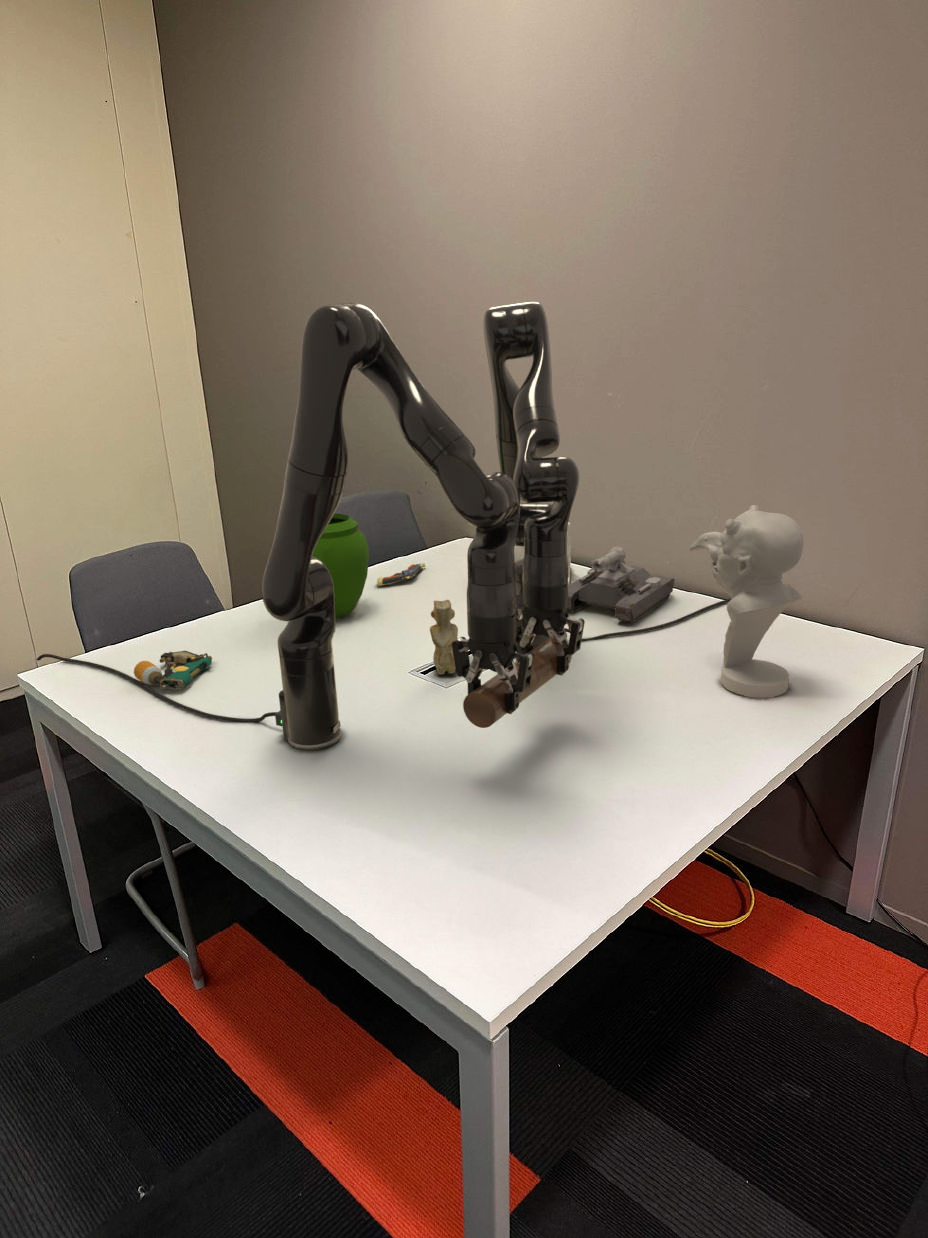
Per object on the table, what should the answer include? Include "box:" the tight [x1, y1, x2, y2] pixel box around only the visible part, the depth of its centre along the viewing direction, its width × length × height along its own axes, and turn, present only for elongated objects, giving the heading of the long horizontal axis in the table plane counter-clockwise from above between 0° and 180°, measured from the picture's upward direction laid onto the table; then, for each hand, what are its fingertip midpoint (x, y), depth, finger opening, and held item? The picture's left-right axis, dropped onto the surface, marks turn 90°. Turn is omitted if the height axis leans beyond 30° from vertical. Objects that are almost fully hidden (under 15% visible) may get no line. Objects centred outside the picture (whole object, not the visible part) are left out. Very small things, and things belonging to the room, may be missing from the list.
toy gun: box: [376, 562, 426, 587], centre depth 240 cm, size 3×19×10 cm
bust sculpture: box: [688, 504, 804, 699], centre depth 167 cm, size 16×24×35 cm, turn 28°
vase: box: [312, 513, 370, 620], centre depth 209 cm, size 20×20×24 cm
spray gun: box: [133, 650, 213, 690], centre depth 180 cm, size 4×17×15 cm
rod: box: [462, 638, 573, 729], centre depth 141 cm, size 26×6×6 cm, turn 146°
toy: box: [567, 546, 676, 624], centre depth 212 cm, size 25×20×15 cm
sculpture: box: [429, 599, 459, 675], centre depth 177 cm, size 6×7×15 cm
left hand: (493, 706), depth 135 cm, fingers closed on rod, 6 cm apart
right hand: (544, 669), depth 148 cm, fingers closed on rod, 6 cm apart
